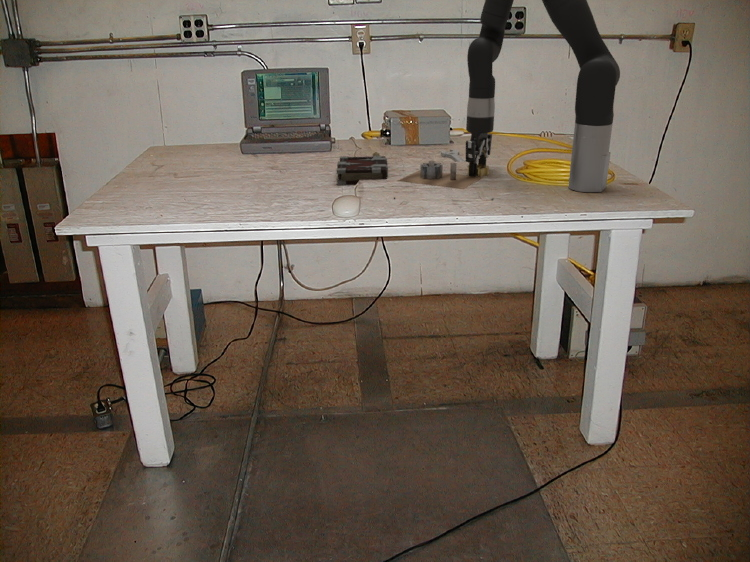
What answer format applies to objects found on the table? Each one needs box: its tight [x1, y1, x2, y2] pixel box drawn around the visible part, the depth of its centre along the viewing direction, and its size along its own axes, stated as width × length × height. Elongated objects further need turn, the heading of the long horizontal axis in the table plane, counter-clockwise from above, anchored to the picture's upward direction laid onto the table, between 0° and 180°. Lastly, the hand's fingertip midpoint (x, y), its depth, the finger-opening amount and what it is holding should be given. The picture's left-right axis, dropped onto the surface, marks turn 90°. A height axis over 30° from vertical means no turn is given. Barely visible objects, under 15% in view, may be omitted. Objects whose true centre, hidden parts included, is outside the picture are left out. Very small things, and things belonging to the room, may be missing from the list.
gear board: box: [397, 160, 484, 190], centre depth 173 cm, size 20×14×6 cm
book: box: [336, 151, 389, 186], centre depth 186 cm, size 15×25×5 cm, turn 0°
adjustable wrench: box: [440, 148, 467, 163], centre depth 200 cm, size 25×6×2 cm, turn 4°
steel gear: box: [419, 162, 444, 180], centre depth 175 cm, size 6×6×4 cm
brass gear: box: [466, 163, 490, 177], centre depth 178 cm, size 6×6×4 cm
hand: (477, 173), depth 178 cm, fingers closed on brass gear, 6 cm apart
